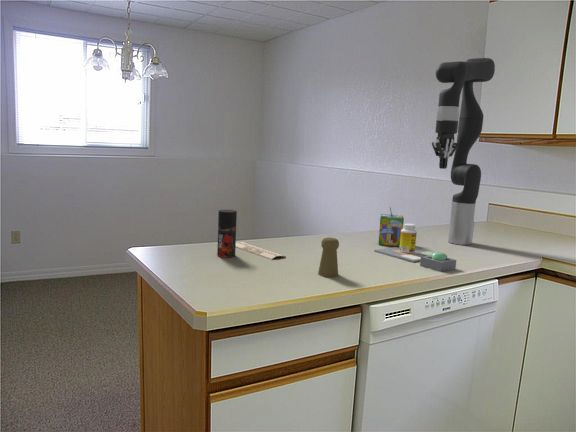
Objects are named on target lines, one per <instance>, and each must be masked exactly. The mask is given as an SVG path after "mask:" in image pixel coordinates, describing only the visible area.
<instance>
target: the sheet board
mask: <svg viewBox="0 0 576 432" xmlns="http://www.w3.org/2000/svg"><path fill="white" fill-rule="evenodd" d="M399 248H400V246H391V247H385V248H377V249H374V251H373V252H375V253H379V254H382V255H386V256H389V257H392V258H396V259H398V260H401V261H402V260H403V261H406V262H410V263H418V262H419V263H420V261H421V257H424V256H430V255H432V253H433V252H434V251H432V250H429V249H428V250H427V249H424V248H420V247H416V246H415V252H414V253H403V252H401V251H400V250H399ZM446 257H447V258H448V255H447V254H446Z"/></svg>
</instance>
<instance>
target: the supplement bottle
mask: <svg viewBox="0 0 576 432" xmlns="http://www.w3.org/2000/svg"><path fill="white" fill-rule="evenodd" d="M415 228H416V224H415V223H404V224H403V229H402V230H401V238H400V246H399V247H400V248H399V250H400V251H401V252H403V253H414V252H415V247H416V243H417V242H416V241H417V234H418V233H417V232H418V231H417V230H416V229H415Z"/></svg>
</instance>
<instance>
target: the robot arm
mask: <svg viewBox="0 0 576 432" xmlns="http://www.w3.org/2000/svg"><path fill="white" fill-rule="evenodd" d="M495 71H496V64H495V61H494V60H493V59H492V58H489V57H477V58H468V59H467V60H466V61H448V62H441V63H439V65H438V66H437V67H436V69H435V78H436V79H437V82H439V83H442V84H452V85H451V87H449V88H447V89H445V88H444V89H442V90H440V92H439V95H438V104H437V105H438V107H437V112H436V120H435V133H436V134H437V136H436V140H435V141H432V142H431V145H432V149H433V151H434V154H435V156H436V157H438V158H439V163H438V165H439V166H438V167H439V169H443V170H445V169H447V168H448V163H449V161H448V160H449V159H450V157H453V160H452V164H451V167H450V179H451V182H452V184H453V185H456V186H462V187H463V188H462V190H461V192H458V193H455V194H453V196H452V199H451V201H452V202H451V209H450V219H449V229H448V239H447V241H448V243H450V244H456V245H461V246H462V245H463V246H465V245H466V246H467V245H468V246H469V245H471V244H472V243H473V237H474V231H475V230H474V228H475V213H476V203H477V199H478V196H479V192H480V186H481V179H482V171H481V168H480V166H479V164H475V163H467V162H468V157H469V153H470V151H471V149H472V147H473V146H474V145H475V143H476V142H477V141H478V139H479V137H480V136H481V134H482V131H483V125H484V112H483V110H482V108H481V106H480V105H479V102H478V100H477V99H476V96H475V93H474V83H486V82H489V81H492V78H493V77H494V75H495ZM461 94H462V95H461ZM461 96H462V97H461ZM460 99H461V105H460ZM456 134H457V137H456V142H455V135H456Z"/></svg>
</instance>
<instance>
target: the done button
mask: <svg viewBox="0 0 576 432" xmlns="http://www.w3.org/2000/svg"><path fill="white" fill-rule="evenodd" d="M432 252H433V253H432V258H431V259H434V260H438V261H445V260H446V255H447V254H446V253H444V252H439V251H432Z"/></svg>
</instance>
